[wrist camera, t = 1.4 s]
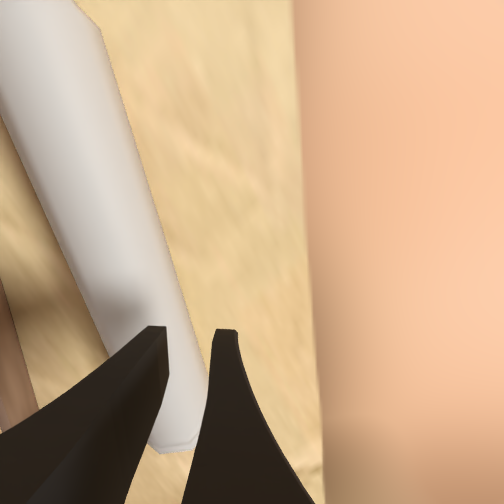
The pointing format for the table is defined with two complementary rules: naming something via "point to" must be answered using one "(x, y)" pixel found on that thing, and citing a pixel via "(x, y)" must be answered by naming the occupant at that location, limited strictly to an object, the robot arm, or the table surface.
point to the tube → (97, 194)
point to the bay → (13, 373)
